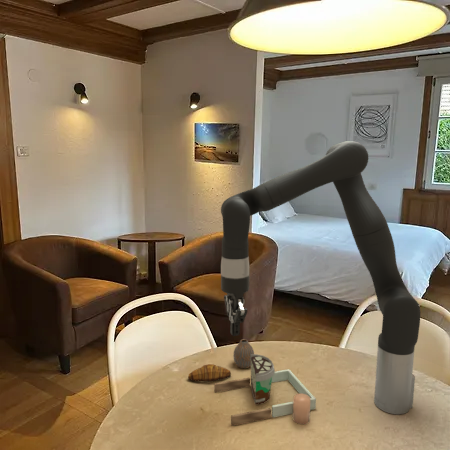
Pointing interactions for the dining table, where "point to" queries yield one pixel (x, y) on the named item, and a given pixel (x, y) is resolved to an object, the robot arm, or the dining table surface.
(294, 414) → the tan rounded piece
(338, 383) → the dining table surface
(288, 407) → the bay
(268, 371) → the food container
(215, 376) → the croissant
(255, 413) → the brown flat strips
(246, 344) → the vase
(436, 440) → the dining table surface
